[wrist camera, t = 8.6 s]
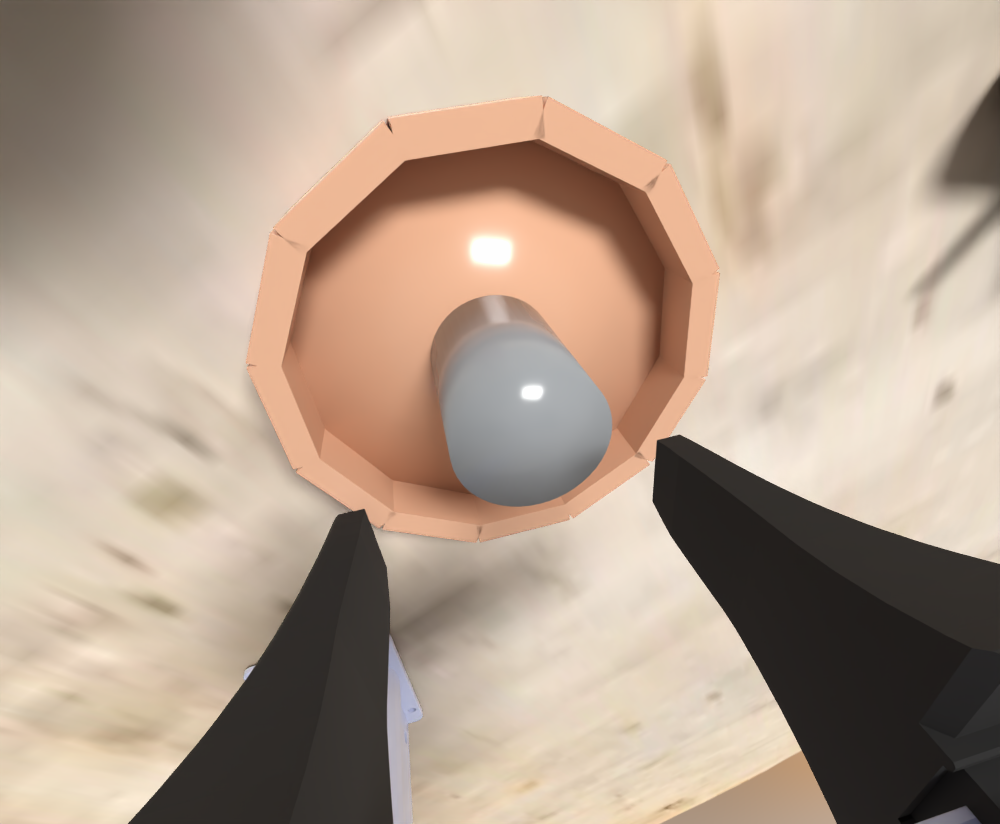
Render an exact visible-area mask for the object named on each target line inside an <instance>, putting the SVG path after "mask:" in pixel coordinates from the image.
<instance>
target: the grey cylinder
mask: <svg viewBox="0 0 1000 824" xmlns="http://www.w3.org/2000/svg"><path fill="white" fill-rule="evenodd" d="M431 367H432V372H433V377H434V382H435V387H436V392H437V397H438V401H439V406H440V411H441V416H442V421H443V426H444V431H445V436H446V441H447V446H448V450H449V455H450V460H451V464H452V467H453V470H454V472H455V474H456V476H457V478H458V479H459V481H460V482H461V483H462V485H463V486H464V487H465V488H466V489H467V490H468V491H470V492H471V493H472V494H474V495H475V496H477V497H479V498H481V499H482V500H485V501H487V502H490V503H493V504H497V505H502V506H510V507H522V506H531V505H537V504H541V503H544V502H548V501H551V500H553V499H556V498H558V497H560V496H562V495H564V494H566V493H568V492H569V491H571V490H573V489H574V488H576V487H577V486H578V485H579V484H581V483H582V482H583V481H584V480H585V479H586V478H588V477H589V476H590V475H591V473H592V472H593V471H594V470H595V469H596V468H597V466H598V465H599V463H600V462H601V460H602V459H603V457H604V455H605V453H606V451H607V448H608V446H609V443H610V439H611V434H612V416H611V411H610V407H609V405H608V402H607V400H606V398H605V397H604V395H603V394H602V392H601V391H600V390H599V388H598V387H597V386H596V384H595V383H594V382H593V381H592V379H591V378H590V377H589V376H588V374H587V373H586V372H585V371H584V369H583V368H582V367H581V365H580V364H579V363H578V362H577V360H576V359H575V358H574V357H573V355H572V354H571V353H570V351H569V350H568V349H567V348H566V346H565V345H564V344H563V343H562V341H561V340H560V339H559V338H558V336H557V335H556V334H555V332H554V331H553V330H552V329H551V327H550V326H549V325H548V324H547V322H546V321H545V320H544V319H543V317H542V316H541V315H540V314H539V313H538V311H537V310H535V309H534V308H533V307H532V306H531V305H529V304H527V303H526V302H524V301H522V300H520V299H517V298H514V297H510V296H504V295H488V296H482V297H478V298H475V299H472V300H470V301H468V302H466V303H464V304H462V305H460V306H459V307H457V308H456V309H455V310H453V311H452V312H451V313H450V314H449V315H448V316H447V317H446V318H445V319H444V321H443V322H442V323H441V325H440V326H439V328H438V330H437V332H436V334H435V336H434V339H433V342H432V346H431Z"/></svg>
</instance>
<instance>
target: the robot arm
mask: <svg viewBox="0 0 1000 824" xmlns="http://www.w3.org/2000/svg"><path fill="white" fill-rule="evenodd" d="M653 503H654V505H655V507H656V509H657V511H658V513H659V515H660V517H661V519H662V521H663V523H664V524H665V526H666V528H667V530H668V532H669V533H670V535H671V537H672V538H673V540H674V541H675V543H676V544H677V546H678V547H679V548H680V550H681V551H682V553H683V554H684V556H685V557H686V558H687V560H688V561H689V563H690V564H691V566H692V567H693V568H694V570H695V571H696V573H697V574H698V575H699V577H700V578H701V580H702V581H703V582H704V584H705V585H706V587H707V588H708V589H709V591H710V592H711V594H712V595H713V596H714V598H715V599H716V601H717V602H718V603H719V605H720V606H721V608H722V609H723V610H724V612H725V613H726V615H727V616H728V618H729V619H730V621H731V622H732V624H733V625H734V627H735V629H736V630H737V632H738V634H739V635H740V637H741V639H742V641H743V642H744V644H745V646H746V648H747V649H748V651H749V653H750V654H751V656H752V658H753V660H754V661H755V663H756V665H757V667H758V668H759V670H760V672H761V674H762V676H763V678H764V679H765V681H766V683H767V685H768V687H769V689H770V690H771V692H772V694H773V696H774V698H775V700H776V701H777V703H778V705H779V707H780V709H781V711H782V713H783V714H784V716H785V718H786V720H787V722H788V724H789V726H790V728H791V730H792V732H793V734H794V736H795V738H796V740H797V742H798V744H799V746H800V748H801V750H802V752H803V753H804V755H805V757H806V759H807V761H808V764H809V766H810V768H811V770H812V772H813V774H814V776H815V778H816V780H817V782H818V784H819V786H820V789H821V791H822V793H823V795H824V797H825V799H826V801H827V803H828V805H829V807H830V810H831V812H832V814H833V816H834V818H835V820H836V822H837V824H1000V564H998V563H993V562H990V561H986V560H982V559H978V558H975V557H971V556H967V555H963V554H960V553H956V552H952V551H949V550H945V549H942V548H938V547H935V546H932V545H928V544H925V543H922V542H918V541H915V540H912V539H909V538H906V537H903V536H900V535H897V534H894V533H891V532H888V531H885V530H882V529H879V528H876V527H873V526H871V525H868V524H865V523H862V522H860V521H857V520H855V519H852V518H850V517H847V516H845V515H842V514H839V513H837V512H834V511H832V510H829V509H827V508H824V507H822V506H820V505H817V504H815V503H813V502H811V501H808V500H806V499H804V498H802V497H800V496H798V495H795V494H793V493H791V492H789V491H787V490H785V489H782V488H780V487H778V486H776V485H774V484H772V483H770V482H768V481H766V480H764V479H762V478H760V477H758V476H756V475H754V474H753V473H751V472H749V471H747V470H745V469H743V468H741V467H739V466H737V465H736V464H734V463H732V462H730V461H728V460H726V459H724V458H723V457H721V456H719V455H717V454H715V453H713V452H712V451H710V450H708V449H706V448H704V447H702V446H701V445H699V444H697V443H695V442H693V441H691V440H689V439H687V438H685V437H683V436H681V435H677V436H672V437H668V438H664V439H660V440H657V444H656V458H655V473H654V487H653ZM389 632H390V601H389V589H388V578H387V567H386V565H385V562H384V559H383V557H382V554H381V551H380V549H379V546H378V543H377V541H376V538H375V535H374V532H373V530H372V527H371V524H370V522H369V519H368V516H367V514H366V511H365V509H361V510H357V511H352V512H348V513H344V514H340V515H338V516H337V517H336V518H335V520H334V522H333V524H332V527H331V529H330V531H329V533H328V536H327V538H326V540H325V542H324V544H323V547H322V549H321V551H320V553H319V555H318V557H317V559H316V561H315V563H314V565H313V567H312V569H311V571H310V573H309V575H308V577H307V579H306V581H305V583H304V585H303V587H302V589H301V591H300V592H299V594H298V596H297V598H296V600H295V602H294V603H293V605H292V607H291V609H290V610H289V612H288V614H287V615H286V617H285V619H284V621H283V622H282V624H281V626H280V627H279V629H278V631H277V633H276V634H275V636H274V638H273V639H272V641H271V642H270V644H269V646H268V647H267V649H266V650H265V652H264V653H263V655H262V656H261V658H260V660H259V661H258V663H257V664H256V665H255V666H251V667H249V668H247V669H246V670H245V672H244V676H243V678H244V680H245V682H244V683H243V684H242V686H241V687H240V689H239V690H238V691H237V693H236V694H235V695H234V697H233V698H232V699H231V701H230V702H229V703H228V705H227V706H226V707H225V709H224V710H223V711H222V713H221V714H220V716H219V717H218V718H217V720H216V721H215V722H214V723H213V725H212V726H211V727H210V729H209V730H208V731H207V732H206V734H205V735H204V736H203V737H202V739H201V740H200V741H199V742H198V744H197V745H196V746H195V747H194V748H193V750H192V751H191V752H190V753H189V754H188V756H187V757H186V758H185V759H184V760H183V761H182V763H181V764H180V765H179V766H178V767H177V769H176V770H175V771H174V772H173V773H172V774H171V776H170V777H169V778H168V779H167V780H166V782H165V783H164V784H163V785H162V786H161V787H160V789H159V790H158V791H157V792H156V793H155V794H154V795H153V797H152V798H151V799H150V800H149V801H148V802H147V803H146V804H145V806H144V807H143V808H142V809H141V810H140V811H139V812H138V813H137V814H136V815H135V817H134V818H133V819H132V820H131V821H130V822H129V823H128V824H413V812H412V792H411V772H410V752H409V732H408V724H409V723H412V722H416V721H418V720H420V719H421V718H422V717H423V713H422V708H421V706H420V704H419V701H418V699H417V696H416V694H415V692H414V689H413V687H412V685H411V682H410V680H409V677H408V675H407V673H406V670H405V668H404V666H403V663H402V661H401V659H400V656H399V654H398V651H397V649H396V647H395V644H394V642H393V640H392V637H391V635H390V634H389Z"/></svg>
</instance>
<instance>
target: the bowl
mask: <svg viewBox="0 0 1000 824" xmlns="http://www.w3.org/2000/svg"><path fill="white" fill-rule="evenodd" d="M388 121H389V126H390V129H389V128H388V126H387V125H386V124H385V122H384V121H383V120H381V121H380V122H379V123H378V124H377V125H376V126H375V127H374V128H373V129H372V130H371V131H370V132H369V133H368V134H367V135H366V136H365V137H364V138H363V139H362V140H361V141H360V142H359V143H358V144H357V145H355V146H354V147H353V148H352V149H351V150H350V151H349V152H348V153H347V154H346V155H345V156H344V157H343V158H342V159H341V160H340V161H339V162H338V163H337V164H336V165H335V166H334V167H333V168H332V169H331V170H330V171H328V172H327V173H326V174H325V175H324V176H323V177H322V178H321V179H320V180H319V181H318V182H317V183H316V184H315V185H314V186H313V187H312V188H311V189H310V190H309V191H308V192H307V193H306V194H305V195H304V196H303V197H301V198H300V199H299V200H298V201H297V202H296V203H295V204H294V205H293V206H292V207H291V208H290V209H289V210H288V211H287V212H286V214H285V215H284V216H283V217H282V218H281V219H280V220H279V221H278V223H277V224H276V225H275V226H274V227H273V228H274V229H273V230H272V232H271V233H270V235H269V241H268V246H267V252H266V257H265V262H264V268H263V273H262V278H261V284H260V289H259V295H258V300H257V305H256V311H255V316H254V322H253V327H252V332H251V338H250V343H249V348H248V354H247V359H246V363H247V364H248V366H247V371H248V373H249V375H250V377H251V379H252V381H253V384H254V386H255V388H256V390H257V392H258V394H259V397H260V399H261V401H262V403H263V405H264V407H265V410H266V412H267V414H268V416H269V418H270V420H271V422H272V425H273V427H274V429H275V431H276V433H277V435H278V438H279V440H280V442H281V444H282V446H283V448H284V451H285V453H286V455H287V457H288V459H289V461H290V464H291V466H292V468H293V469H297V471H296V473H297V474H299V475H300V476H302V477H303V478H305V479H306V480H308V481H309V482H311V483H312V484H314V485H315V486H317V487H318V488H320V489H321V490H323V491H324V492H326V493H327V494H329V495H330V496H332V497H333V498H335V499H336V500H338V501H339V502H341V503H342V504H344V505H345V506H346V507H348V508H349V509H351V510H352V511H357V510H361V509H365V511H366V514H367V516H368V519H369V522H370V523H372V524H373V525H375V526H376V527H378V528H380V527H381V526H382V525H383V530H389V531H396V532H403V533H410V534H418V535H425V536H432V537H439V538H446V539H453V540H460V541H467V542H475V543H476V541H477V539H478V537H479V541H480V542H484V541H488V540H492V539H496V538H500V537H504V536H508V535H511V534H515V533H519V532H523V531H527V530H531V529H535V528H539V527H543V526H547V525H551V524H555V523H559V522H563V521H567V520H570V519H569V515H571V516H572V517H573V518H574V517H576V516H577V515H579V514H580V513H581V512H583V511H584V510H586V509H587V508H589V507H590V506H591V505H593V504H594V503H596V502H597V501H599V500H600V499H601V498H603V497H604V496H606V495H607V494H609V493H610V492H611V491H613V490H614V489H616V488H617V487H619V486H620V485H621V484H623V483H624V482H626V481H627V480H629V479H630V478H631V477H633V476H634V475H636V474H637V473H639V472H640V471H641V470H643V469H644V468H646V467H647V466H649V465H650V464H649V463H648V461H654V459H655V457H656V444H657V440H660V439H664V438H668V437H669V436H670V434H671V433H672V431H673V430H674V428H675V427H676V425H677V424H678V422H679V420H680V419H681V417H682V416H683V414H684V413H685V411H686V410H687V408H688V407H689V405H690V403H691V402H692V400H693V399H694V397H695V396H696V394H697V393H698V391H699V390H700V388H701V387H702V385H703V383H704V382H705V379H704V378H703V377H705V376H707V374H708V366H709V358H710V350H711V342H712V333H713V325H714V317H715V309H716V301H717V293H718V285H719V277H720V273H718V272H716V271H717V270H718V269H719V267H718V265H717V262H716V260H715V258H714V256H713V254H712V252H711V250H710V247H709V245H708V243H707V241H706V239H705V237H704V235H703V232H702V230H701V228H700V226H699V224H698V222H697V219H696V217H695V215H694V213H693V211H692V209H691V207H690V204H689V202H688V200H687V198H686V196H685V194H684V191H683V189H682V187H681V185H680V183H679V181H678V179H677V176H676V174H675V172H674V170H673V168H672V166H671V164H667V163H666V162H667V160H666V159H664V158H662V157H660V156H658V155H656V154H655V153H653V152H651V151H649V150H647V149H645V148H643V147H642V146H640V145H638V144H636V143H634V142H632V141H630V140H629V139H627V138H625V137H623V136H621V135H619V134H617V133H615V132H614V131H612V130H610V129H608V128H606V127H604V126H602V125H601V124H599V123H597V122H595V121H593V120H591V119H589V118H588V117H586V116H584V115H582V114H580V113H578V112H576V111H575V110H573V109H571V108H569V107H567V106H565V105H563V104H561V103H560V102H558V101H556V100H554V99H552V98H550V97H542V95H541V96H530V97H518V98H510V99H504V100H497V101H491V102H484V103H477V104H471V105H464V106H457V107H451V108H444V109H438V110H431V111H424V112H418V113H411V114H404V115H398V116H391V117H388ZM488 295H504V296H510V297H514V298H517V299H520V300H522V301H524V302H526V303H527V304H529V305H531V306H532V307H533V308H534V309H535V310H537V311H538V313H539V314H540V315H541V316H542V317H543V319H544V320H545V321H546V322H547V324H548V325H549V326H550V327H551V329H552V330H553V331H554V332H555V334H556V335H557V336H558V338H559V339H560V340H561V341H562V343H563V344H564V345H565V346H566V348H567V349H568V350H569V351H570V353H571V354H572V355H573V357H574V358H575V359H576V360H577V362H578V363H579V364H580V365H581V367H582V368H583V369H584V371H585V372H586V373H587V374H588V376H589V377H590V378H591V379H592V381H593V382H594V383H595V384H596V386H597V387H598V388H599V390H600V391H601V392H602V394H603V395H604V397H605V398H606V400H607V402H608V405H609V407H610V411H611V416H612V434H611V439H610V443H609V446H608V448H607V451H606V453H605V455H604V457H603V459H602V460H601V462H600V463H599V465H598V466H597V468H596V469H595V470H594V471H593V472H592V473H591V475H590V476H589V477H588V478H586V479H585V480H584V481H583V482H582V483H581V484H579V485H578V486H577V487H576V488H574V489H573V490H571V491H569V492H568V493H566V494H564V495H562V496H560V497H558V498H556V499H553V500H551V501H548V502H544V503H541V504H537V505H531V506H522V507H510V506H502V505H497V504H493V503H490V502H487V501H485V500H482V499H481V498H479V497H477V496H475V495H474V494H472V493H471V492H470V491H468V490H467V489H466V488H465V487H464V486H463V485H462V483H461V482H460V481H459V479H458V478H457V476H456V474H455V472H454V470H453V467H452V464H451V460H450V455H449V450H448V446H447V441H446V436H445V431H444V426H443V421H442V416H441V411H440V406H439V401H438V397H437V392H436V387H435V382H434V377H433V372H432V367H431V346H432V342H433V339H434V336H435V334H436V332H437V330H438V328H439V326H440V325H441V323H442V322H443V321H444V319H445V318H446V317H447V316H448V315H449V314H450V313H451V312H452V311H453V310H455V309H456V308H457V307H459V306H460V305H462V304H464V303H466V302H468V301H470V300H472V299H475V298H478V297H482V296H488ZM647 460H648V461H647Z"/></svg>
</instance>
